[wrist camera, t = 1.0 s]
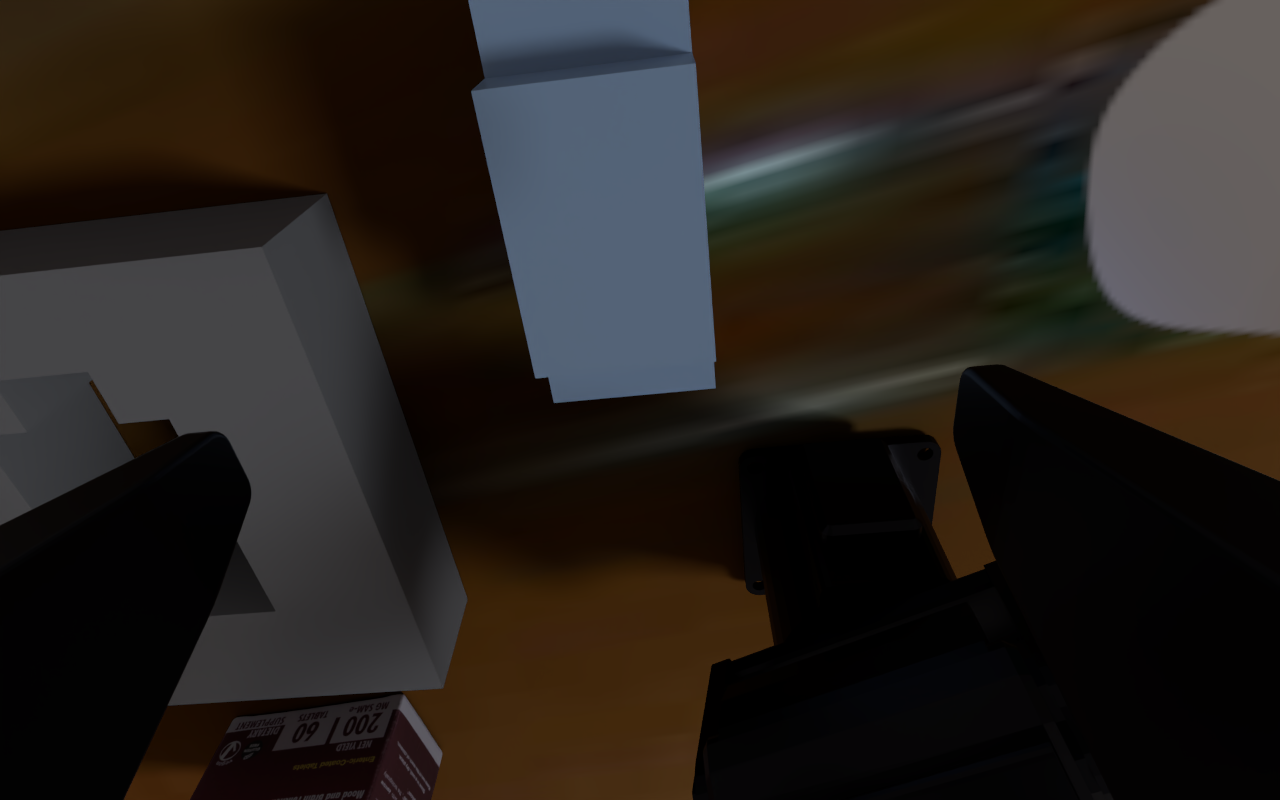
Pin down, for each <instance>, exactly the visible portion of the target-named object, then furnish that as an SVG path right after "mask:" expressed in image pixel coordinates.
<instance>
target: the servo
mask: <svg viewBox="0 0 1280 800" xmlns="http://www.w3.org/2000/svg"><path fill="white" fill-rule="evenodd" d="M468 2H469V6H470V11H471V16H472V20H473V25H474V30H475V35H476V39H477V44H478V49H479V53H480V58H481V63H482V67H483V72H484V77H485V79H484V80H483V81H481V82H480V83H479V84H478V85H477V86H476V87H475V88H474V89H473V90H472V91H471V93H472V98H473V102H474V107H475V111H476V115H477V120H478V124H479V129H480V133H481V138H482V142H483V147H484V151H485V156H486V160H487V165H488V169H489V174H490V178H491V182H492V187H493V191H494V196H495V200H496V205H497V209H498V214H499V218H500V223H501V227H502V232H503V236H504V241H505V245H506V249H507V254H508V258H509V263H510V267H511V272H512V276H513V281H514V285H515V290H516V294H517V299H518V303H519V308H520V312H521V316H522V321H523V325H524V330H525V334H526V339H527V343H528V348H529V352H530V357H531V361H532V366H533V370H534V375H535V378H546V377H548V378H549V383H550V387H551V392H552V397H553V401H554V403H560V402H571V401H582V400H593V399H604V398H615V397H626V396H637V395H648V394H659V393H669V392H680V391H691V390H702V389H713V388H716V386H715V371H714V362H716V353H715V339H714V324H713V310H712V295H711V281H710V266H709V252H708V237H707V223H706V208H705V193H704V179H703V164H702V150H701V135H700V121H699V106H698V92H697V77H696V63H695V60H694V57H693V54H692V46H691V32H690V18H689V3H688V0H468Z"/></svg>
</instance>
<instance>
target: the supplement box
mask: <svg viewBox="0 0 1280 800" xmlns="http://www.w3.org/2000/svg"><path fill="white" fill-rule="evenodd" d="M441 758H442V751H441V749H440V748H439V746H438V745H437V743H436V742H435V740H434V738H433V737H432V736H431V734H430V732H429V731H428V729H427V727H426V726H425V724H424V723H423V722H422V720H421V718H420V717H419V716H418V714H417V713H416V711H415V710H414V708H413V707H412V705H411V704H410V702H409V701H408V699H407V698H406V696H405V695H404V694H396V695H390V696H387V697H383V698H377V699H371V700H364V701H357V702H351V703H344V704H338V705H331V706H324V707H317V708H311V709H303V710H296V711H289V712H282V713H273V714H266V715H257V716H243V717H236V718H235V719H234V720H233V721H232V723H231V725H230V726H229V728H228V730H227V732H226V734H225V736H224V738H223V739H222V741H221V743H220V745H219V747H218V749H217V750H216V752H215V754H214V756H213V758H212V760H211V762H210V763H209V765H208V767H207V769H206V771H205V773H204V775H203V776H202V778H201V780H200V782H199V784H198V786H197V788H196V790H195V791H194V793H193V795H192V797H191V799H190V800H431V797H432V794H433V790H434V786H435V782H436V779H437V774H438V770H439V766H440V762H441Z"/></svg>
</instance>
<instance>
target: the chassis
mask: <svg viewBox="0 0 1280 800" xmlns="http://www.w3.org/2000/svg"><path fill="white" fill-rule="evenodd" d="M91 380H93V381H94V383H95V385H96V386H97V388H98V390H99V391H100V393H101V395H102V396H103V398H104V400H105V401H106V403H107V405H108V406H109V408H110V410H111V411H112V413H113V415H114V416H115V418H116V420H117V421H118V423H119V424H122V423H133V422H143V421H154V420H165V419H169V420H170V422H171V423H172V425H173V427H174V429H175V431H176V432H177V434H178V436H181V435H184V434H187V433H194V432H206V431H218V432H220V433H222V434H224V435H225V436H226V437H227V438H228V440H229V441H230V443H231V445H232V447H233V449H234V451H235V453H236V455H237V457H238V459H239V461H240V463H241V465H242V467H243V469H244V471H245V473H246V475H247V477H248V479H249V482H250V485H251V501H250V505H249V508H248V511H247V513H246V516H245V519H244V522H243V525H242V528H241V531H240V534H239V537H238V540H237V542H236V545H235V548H234V551H233V554H232V557H231V560H230V563H229V566H228V568H227V571H226V574H225V577H224V580H223V583H222V586H221V589H220V591H219V594H218V597H217V599H216V602H215V605H214V607H213V609H212V612H211V614H210V616H209V618H208V621H207V623H206V625H205V627H204V629H203V631H202V634H201V636H200V638H199V640H198V642H197V644H196V646H195V649H194V651H193V653H192V655H191V657H190V659H189V661H188V663H187V666H186V668H185V670H184V672H183V674H182V676H181V678H180V680H179V683H178V685H177V687H176V689H175V691H174V693H173V695H172V698H171V700H170V702H169V704H168V706H170V705H186V704H202V703H218V702H234V701H250V700H266V699H282V698H297V697H313V696H329V695H345V694H361V693H377V692H393V691H409V690H424V689H440V688H443V687H444V683H445V679H446V676H447V672H448V668H449V665H450V661H451V658H452V654H453V650H454V647H455V643H456V639H457V636H458V632H459V628H460V625H461V621H462V617H463V614H464V610H465V606H466V603H467V596H466V593H465V590H464V588H463V585H462V582H461V579H460V576H459V573H458V570H457V567H456V564H455V562H454V559H453V556H452V553H451V550H450V547H449V544H448V541H447V538H446V536H445V533H444V530H443V527H442V524H441V521H440V518H439V515H438V512H437V510H436V507H435V504H434V501H433V498H432V495H431V492H430V489H429V487H428V484H427V481H426V478H425V475H424V472H423V469H422V466H421V463H420V461H419V458H418V455H417V452H416V449H415V446H414V443H413V440H412V437H411V435H410V432H409V429H408V426H407V423H406V420H405V417H404V414H403V412H402V409H401V406H400V403H399V400H398V397H397V394H396V391H395V388H394V386H393V383H392V380H391V377H390V374H389V371H388V368H387V365H386V362H385V360H384V357H383V354H382V351H381V348H380V345H379V342H378V339H377V337H376V334H375V331H374V328H373V325H372V322H371V319H370V316H369V313H368V311H367V308H366V305H365V302H364V299H363V296H362V293H361V290H360V287H359V285H358V282H357V279H356V276H355V273H354V270H353V267H352V264H351V262H350V259H349V256H348V253H347V250H346V247H345V244H344V241H343V238H342V236H341V233H340V230H339V227H338V224H337V221H336V218H335V215H334V212H333V210H332V207H331V204H330V201H329V198H328V195H327V194H318V195H310V196H301V197H292V198H283V199H275V200H266V201H257V202H248V203H240V204H231V205H222V206H214V207H205V208H196V209H187V210H179V211H170V212H161V213H152V214H144V215H135V216H126V217H117V218H109V219H100V220H91V221H82V222H74V223H65V224H56V225H47V226H39V227H30V228H21V229H12V230H4V231H0V525H2V524H4V523H6V522H8V521H10V520H12V519H14V518H16V517H18V516H20V515H22V514H24V513H26V512H28V511H30V510H32V509H34V508H36V507H38V506H40V505H42V504H44V503H46V502H48V501H50V500H52V499H54V498H56V497H58V496H60V495H62V494H64V493H66V492H68V491H70V490H72V489H74V488H76V487H78V486H80V485H82V484H84V483H86V482H88V481H90V480H92V479H94V478H96V477H98V476H100V475H102V474H104V473H106V472H109V471H111V470H113V469H115V468H117V467H119V466H121V465H123V464H125V463H127V462H129V461H131V460H133V459H135V458H134V457H133V455H132V453H131V452H130V450H129V448H128V447H127V445H126V444H125V442H124V440H123V439H122V437H121V435H120V434H119V432H118V430H117V429H116V427H115V425H114V424H113V422H112V420H111V419H110V417H109V415H108V414H107V412H106V411H105V409H104V407H103V406H102V404H101V402H100V401H99V399H98V397H97V396H96V394H95V392H94V391H93V389H92V387H91V386H90V384H89V382H90V381H91Z"/></svg>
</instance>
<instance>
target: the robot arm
mask: <svg viewBox="0 0 1280 800" xmlns="http://www.w3.org/2000/svg"><path fill="white" fill-rule="evenodd" d="M953 435H954V442H955V446H956V450H957V453H958V455H959V458H960V461H961V464H962V467H963V470H964V473H965V476H966V479H967V482H968V484H969V487H970V490H971V493H972V496H973V499H974V502H975V505H976V508H977V511H978V513H979V516H980V519H981V522H982V525H983V528H984V531H985V534H986V537H987V539H988V542H989V545H990V547H991V550H992V552H993V555H994V557H995V559H996V561H994V562H991V563H988V564H986V565H984V567H985V569H983V570H980V571H978V572H975V573H972V574H969V575H967V576H964V577H961V578H958V579H957V578H956V576H955V573H954V571H953V569H952V567H951V565H950V563H949V561H948V559H947V556H946V554H945V552H944V550H943V548H942V546H941V544H940V542H939V539H938V537H937V535H936V533H935V531H934V529H933V527H932V519H933V511H934V503H935V496H936V488H937V480H938V473H939V465H940V457H941V448H940V447H939V445H938V443H937V441H936V440H935V439H934V437H932V436H930V435H912V436H900V437H888V438H870V439H859V440H847V441H835V442H823V443H811V444H805V445H794V446H782V447H770V448H758V449H751V450H747V451H745V452H744V453H742V455H741V456H740V457H739V480H740V499H741V517H742V535H743V554H744V572H745V583H746V588H747V590H748V591H749V592H750V593H752V594H755V595H766V601H767V607H768V613H769V618H770V624H771V630H772V636H773V642H774V646H772V647H769V648H766V649H764V650H761V651H758V652H755V653H753V654H750V655H747V656H744V657H742V658H739V659H736V660H733V661H731V660H730V659H726V660H723V661H721V662H718V663H715V664H712V666H711V672H710V679H709V685H708V691H707V697H706V703H705V709H704V715H703V721H702V727H701V733H700V739H699V745H698V751H697V758H696V765H695V776H694V783H693V789H692V795H693V800H1280V481H1279V480H1276V479H1274V478H1271V477H1269V476H1267V475H1264V474H1262V473H1259V472H1257V471H1255V470H1252V469H1250V468H1248V467H1245V466H1243V465H1240V464H1238V463H1236V462H1233V461H1231V460H1228V459H1226V458H1224V457H1221V456H1219V455H1217V454H1214V453H1212V452H1209V451H1207V450H1205V449H1202V448H1200V447H1197V446H1195V445H1193V444H1190V443H1188V442H1186V441H1183V440H1181V439H1178V438H1176V437H1174V436H1171V435H1169V434H1166V433H1164V432H1162V431H1159V430H1157V429H1155V428H1152V427H1150V426H1147V425H1145V424H1143V423H1140V422H1138V421H1136V420H1133V419H1131V418H1128V417H1126V416H1124V415H1121V414H1119V413H1116V412H1114V411H1112V410H1109V409H1107V408H1105V407H1102V406H1100V405H1097V404H1095V403H1093V402H1090V401H1088V400H1086V399H1083V398H1081V397H1078V396H1076V395H1074V394H1071V393H1069V392H1067V391H1064V390H1062V389H1059V388H1057V387H1055V386H1052V385H1050V384H1047V383H1045V382H1043V381H1040V380H1038V379H1036V378H1033V377H1031V376H1028V375H1026V374H1024V373H1021V372H1019V371H1017V370H1014V369H1012V368H1009V367H1007V366H1004V365H985V366H974V367H969V368H967V369H965V371H964V372H963V373H962V376H961V378H960V383H959V390H958V397H957V404H956V411H955V418H954V426H953ZM924 448H929V449H928V450H927V451H926V452H923V453H918V452H919V451H920V450H921V449H924ZM753 462H758V463H760V464H759V465H758V466H756V467H750V466H748V465H749V464H750V463H753ZM250 501H251V485H250V482H249V479H248V477H247V475H246V473H245V471H244V469H243V467H242V465H241V463H240V461H239V459H238V457H237V455H236V453H235V451H234V449H233V447H232V445H231V443H230V441H229V440H228V438H227V437H226V436H225V435H224V434H222V433H220V432H218V431H206V432H194V433H187V434H184V435H181V436H179V437H177V438H175V439H173V440H171V441H169V442H167V443H165V444H163V445H161V446H159V447H157V448H155V449H153V450H151V451H149V452H147V453H145V454H143V455H141V456H139V457H137V458H135V459H133V460H131V461H129V462H127V463H125V464H123V465H121V466H119V467H117V468H115V469H113V470H111V471H109V472H106V473H104V474H102V475H100V476H98V477H96V478H94V479H92V480H90V481H88V482H86V483H84V484H82V485H80V486H78V487H76V488H74V489H72V490H70V491H68V492H66V493H64V494H62V495H60V496H58V497H56V498H54V499H52V500H50V501H48V502H46V503H44V504H42V505H40V506H38V507H36V508H34V509H32V510H30V511H28V512H26V513H24V514H22V515H20V516H18V517H16V518H14V519H12V520H10V521H8V522H6V523H4V524H2V525H0V800H124V798H125V796H126V793H127V791H128V789H129V787H130V785H131V783H132V781H133V778H134V776H135V774H136V772H137V770H138V768H139V766H140V764H141V761H142V759H143V757H144V755H145V753H146V751H147V749H148V747H149V744H150V742H151V740H152V738H153V736H154V734H155V732H156V729H157V727H158V725H159V723H160V721H161V719H162V717H163V715H164V712H165V710H166V708H167V706H168V704H169V702H170V700H171V698H172V695H173V693H174V691H175V689H176V687H177V685H178V683H179V680H180V678H181V676H182V674H183V672H184V670H185V668H186V666H187V663H188V661H189V659H190V657H191V655H192V653H193V651H194V649H195V646H196V644H197V642H198V640H199V638H200V636H201V634H202V631H203V629H204V627H205V625H206V623H207V621H208V618H209V616H210V614H211V612H212V609H213V607H214V605H215V602H216V599H217V597H218V594H219V591H220V589H221V586H222V583H223V580H224V577H225V574H226V571H227V568H228V566H229V563H230V560H231V557H232V554H233V551H234V548H235V545H236V542H237V540H238V537H239V534H240V531H241V528H242V525H243V522H244V519H245V516H246V513H247V511H248V508H249V505H250ZM756 581H762V582H756Z"/></svg>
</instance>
